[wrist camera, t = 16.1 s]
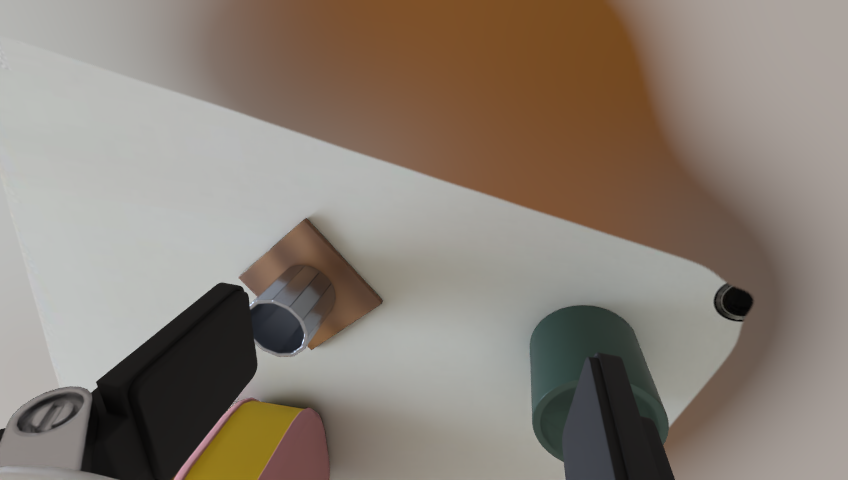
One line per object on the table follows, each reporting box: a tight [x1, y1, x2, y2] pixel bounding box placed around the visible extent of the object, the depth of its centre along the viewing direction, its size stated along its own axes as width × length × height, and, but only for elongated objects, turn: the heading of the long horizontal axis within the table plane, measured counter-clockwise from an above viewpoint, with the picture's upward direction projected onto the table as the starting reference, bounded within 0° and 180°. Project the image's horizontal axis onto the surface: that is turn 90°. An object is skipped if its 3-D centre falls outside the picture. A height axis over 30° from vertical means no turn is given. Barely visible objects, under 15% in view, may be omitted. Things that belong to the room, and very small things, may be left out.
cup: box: [250, 265, 336, 357], centre depth 44 cm, size 7×7×7 cm
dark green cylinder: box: [530, 306, 669, 462], centre depth 39 cm, size 10×10×10 cm
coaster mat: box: [238, 218, 383, 350], centre depth 47 cm, size 12×12×1 cm
